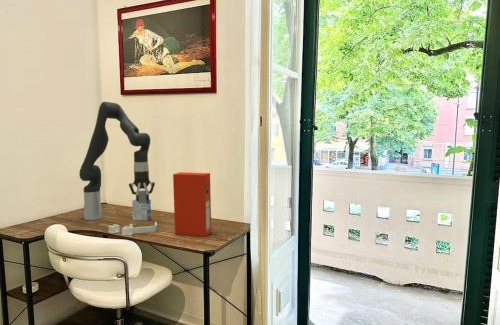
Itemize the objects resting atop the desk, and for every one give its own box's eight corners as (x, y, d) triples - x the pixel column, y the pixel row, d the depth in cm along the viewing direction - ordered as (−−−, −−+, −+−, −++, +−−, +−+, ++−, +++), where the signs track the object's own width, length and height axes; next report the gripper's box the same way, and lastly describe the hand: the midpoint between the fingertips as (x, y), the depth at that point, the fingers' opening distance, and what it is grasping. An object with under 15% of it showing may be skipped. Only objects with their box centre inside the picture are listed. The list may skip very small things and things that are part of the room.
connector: (138, 203, 177) (138, 192, 176) (139, 199, 187) (138, 189, 187) (146, 203, 178) (146, 192, 177) (146, 199, 188) (146, 188, 188)
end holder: (129, 233, 175) (129, 228, 175) (130, 229, 183) (130, 223, 183) (157, 231, 179) (157, 226, 179) (156, 226, 188) (156, 221, 187)
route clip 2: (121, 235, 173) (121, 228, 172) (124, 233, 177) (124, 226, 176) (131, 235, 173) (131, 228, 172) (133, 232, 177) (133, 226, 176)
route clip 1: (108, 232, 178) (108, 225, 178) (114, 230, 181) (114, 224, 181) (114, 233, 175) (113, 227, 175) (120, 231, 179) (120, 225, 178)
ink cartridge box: (151, 218, 205) (151, 195, 204) (147, 221, 200) (146, 197, 198) (137, 218, 207) (136, 195, 206) (132, 220, 202) (131, 196, 200)
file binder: (205, 237, 169) (204, 175, 166) (174, 234, 173) (173, 174, 170) (211, 232, 177) (210, 173, 173) (181, 230, 181) (180, 172, 178)
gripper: (154, 168, 184) (156, 199, 186) (127, 169, 180) (129, 200, 182) (155, 170, 177) (156, 201, 179) (127, 171, 173) (128, 203, 175)
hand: (142, 201), depth 180 cm, fingers closed on connector, 4 cm apart
